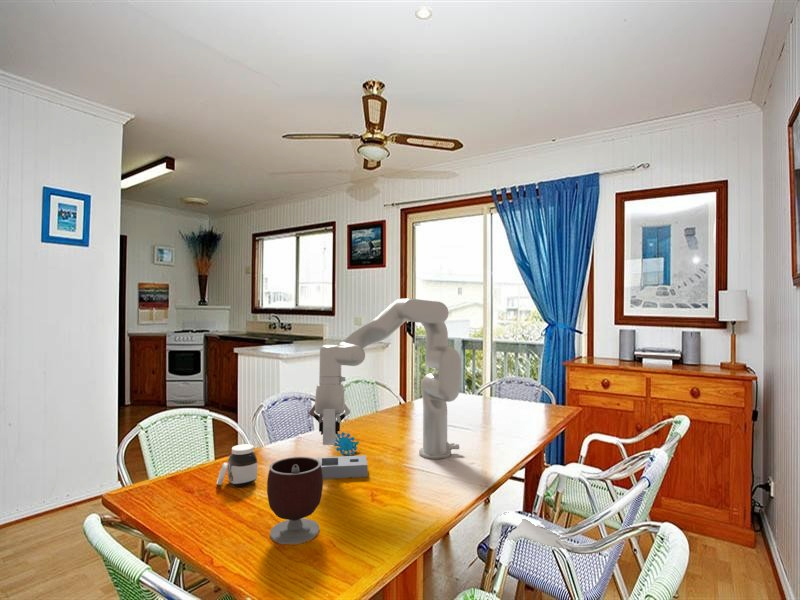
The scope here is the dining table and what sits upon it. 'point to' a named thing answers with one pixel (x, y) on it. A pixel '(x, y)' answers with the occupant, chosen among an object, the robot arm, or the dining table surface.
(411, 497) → the dining table surface
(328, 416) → the skincare box
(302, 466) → the mate gourd
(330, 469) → the stand
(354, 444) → the gear
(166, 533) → the dining table surface
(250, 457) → the spread jar
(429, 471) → the dining table surface
